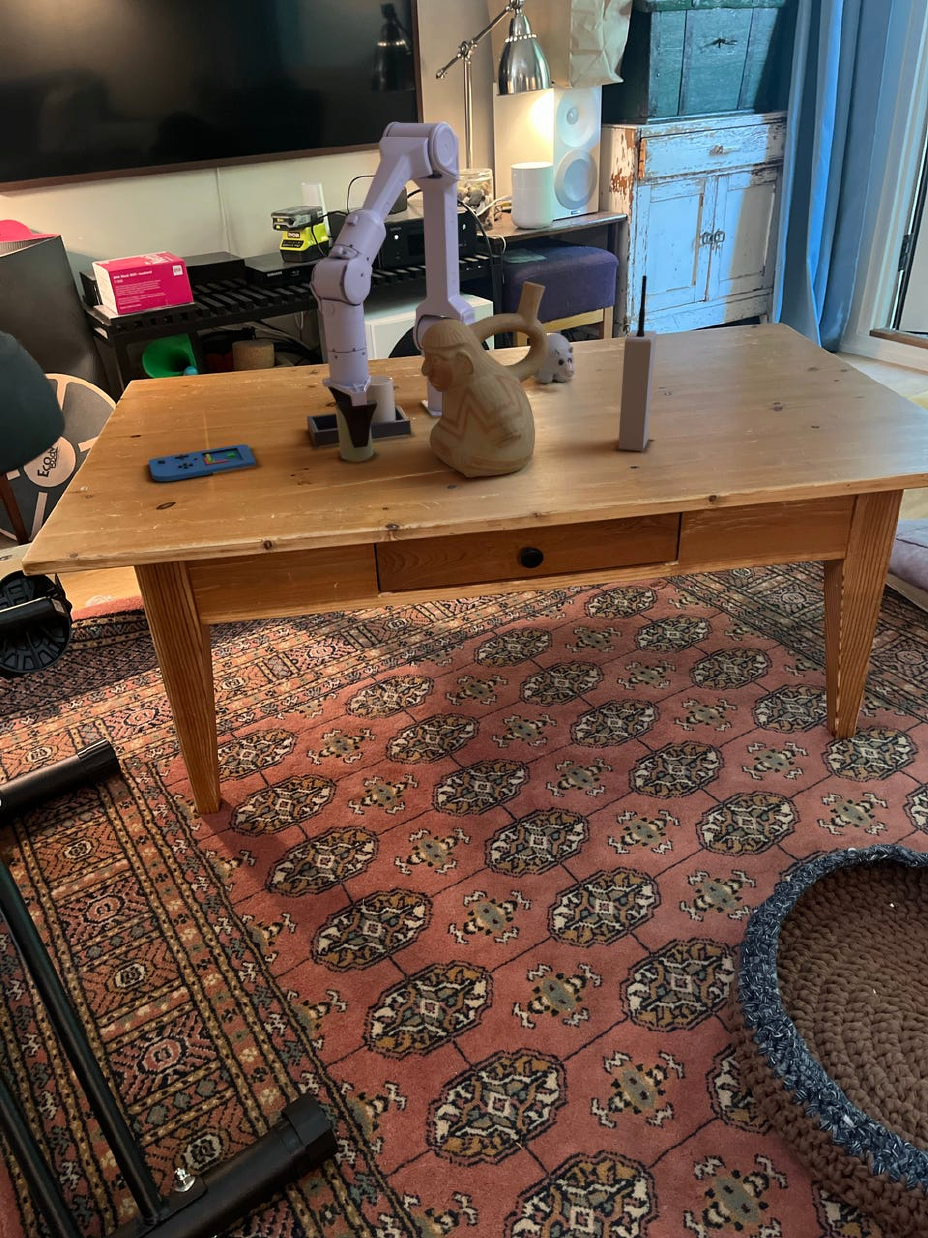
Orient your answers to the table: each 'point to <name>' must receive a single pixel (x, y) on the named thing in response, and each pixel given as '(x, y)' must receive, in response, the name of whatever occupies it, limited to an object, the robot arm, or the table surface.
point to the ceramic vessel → (484, 390)
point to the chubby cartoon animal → (557, 360)
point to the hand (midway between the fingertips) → (355, 437)
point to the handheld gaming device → (201, 463)
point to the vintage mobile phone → (637, 383)
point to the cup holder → (327, 430)
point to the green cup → (345, 442)
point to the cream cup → (382, 398)
